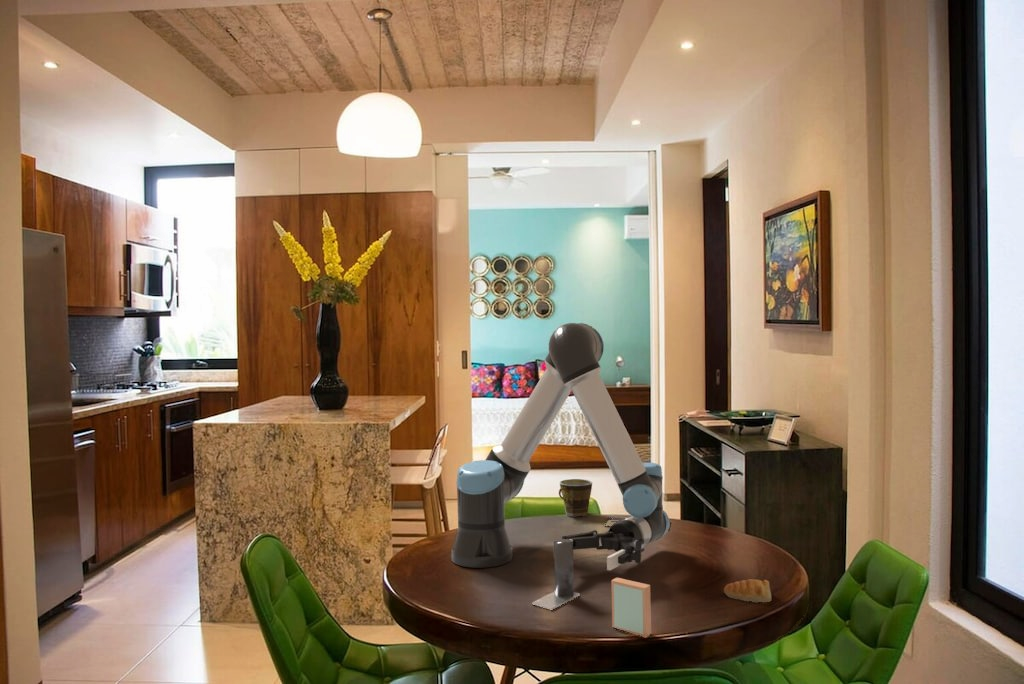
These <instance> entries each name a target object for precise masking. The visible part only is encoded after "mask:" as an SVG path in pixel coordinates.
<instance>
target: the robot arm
mask: <svg viewBox="0 0 1024 684" xmlns="http://www.w3.org/2000/svg"><path fill="white" fill-rule="evenodd" d="M604 345H605V344H604V340H603V336H602V335H601V334H600V332H599V331H598V330H597V329H596V328H595V327H593V325H590V324H587V323H584V322H583V323H582V322H581V323H579V322H578V323H577V322H569V323H564V324H562V325H560V326H559V327H557V328H556V329H555V330H554V331H553V332H552V334H551V336H550V338H549V340H548V354H547V356H546V357H545V359H544V365H545V368H546V369H545V370H544V372H543V373H542V376H541V377H540V378H539V379H538V380H539V381H538V382H537V384H536V385H535V387H534V388H533V390H532V392H531V394H530V395H529V396H528V398H527V400H526V402H525V404H524V406H523V407H522V409H521V410H520V412H519V414H518V415H517V417H516V419H515V420H514V423H513V424H512V426H511V427H510V429H509V431H508V433H507V434H506V436H505V437H504V438H503V441H502V442H501V444H496V445H493V447H492V448H491V450H490V451H489V453H488V455H487V457H486V458H485V459H484V460H483V459H480V460H474V461H472V462H471V461H469V462H467V463H464V464H463V465H461V466H460V467H459V468H458V469H457V473H456V475H457V477H456V481H455V482H456V489H457V490H456V493H457V496H456V498H457V502H456V503H457V531H456V535H455V538H454V541H453V542H454V543H453V545H452V546H453V547H452V549H451V561H452V562H453V564H455V565H458V566H461V567H466V568H472V569H473V568H475V569H477V568H479V569H482V568H493V567H499V566H502V565H506V564H508V563H509V562H511V561H512V559H513V547H512V545H511V544H510V540H509V539H510V538H509V536H508V532H507V530H506V523H505V521H506V518H505V504H507V503H508V502H510V501H511V500H514V499H515V497H517V495H519V493H521V490H522V489H523V486H524V483H525V479H526V478H527V476H528V475H529V473H530V471H531V465H530V464H531V463H530V460H531V458H532V457H533V455H534V453H535V452H536V450H537V448H538V447H539V445H540V444H541V442H542V440H543V438H544V437H545V435H546V433H547V432H548V430H549V429H550V427H551V425H552V423H553V422H554V420H555V419H556V417H557V415H559V412H560V410H561V408H562V407H563V405H564V404H565V402H566V401H567V399H568V397H569V396H570V394H571V392H572V394H573V396H574V397H575V399H576V402H577V405H578V406H579V408H580V410H581V412H582V414H583V416H584V418H585V420H586V423H587V424H588V427H589V429H590V430H591V433H592V435H593V437H594V439H595V441H596V443H597V445H598V447H599V449H600V451H601V453H602V455H603V458H604V460H605V461H606V463H607V466H608V467H609V470H610V472H611V474H612V476H613V478H614V481H615V482H616V484H617V487H618V489H619V491H620V493H621V495H622V505H623V507H624V510H625V511H626V512H627V513H628V514H629V515H630V516H629V517H627V518H626V517H625V518H626V519H624V520H622V521H620V522H617V523H615V524H613V525H612V526H611V527H609V530H608V531H605V532H602V533H600V532H599V533H598V530H596V529H594V530H591V531H588V532H581V533H575V534H569V535H568V534H567V535H563V536H561V539H569V540H572V541H573V551H574V550H575V551H576V550H585V549H586V550H587V549H596V550H597V551H598V550H599V551H600V550H601V551H602V550H607V551H612V550H613V551H615V552H614V553H612V554H610V555H608V556H607V557H606V571H612V570H614V569H616V568H618V567H619V566H621V565H624V564H627V563H631V562H633V561H634V562H635V563H637V564H640V563H641V562H642V553H643V552H644V551H645V546H646V545H648V544H651V543H652V542H654V541H658V540H659V539H661V538H662V537H663V536H664V535H666V534H667V533H668V531H669V530H670V527H671V526H670V524H671V519H670V518H669V516H668V514H667V512H666V511H665V510H664V508H663V469H662V466H661V465H660V464H659V463H655V462H643V461H642V460H641V457H640V455H639V453H638V451H637V449H636V447H635V445H634V443H633V441H632V439H631V436H630V434H629V432H628V431H627V428H626V427H625V425H624V422H623V420H622V418H621V416H620V414H619V412H618V410H617V408H616V406H615V404H614V402H613V400H612V397H611V396H610V394H609V391H608V389H607V388H606V386H605V383H604V380H603V379H602V378H601V375H600V372H601V370H602V368H601V365H600V360H601V359H602V357H603V355H604V351H605V349H604V348H605V346H604ZM600 543H601V545H600Z"/></svg>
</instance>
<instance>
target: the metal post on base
mask: <svg viewBox="0 0 1024 684" xmlns="http://www.w3.org/2000/svg"><path fill="white" fill-rule="evenodd" d="M553 559H554V560H553V561H554V562H553V565H554V570H553V571H554V573H553V574H554V591H552V592H550V593H548V594H546V595H543V596H542V597H540V598H538V599H536V600H533V601H532V602H531V605H532V604H533V605H537V606H540V607H543V608H547V609H550V610H553V609H555V608H557V607H559V606H560V607H562V606H563V605H562V604H564V605H566V604H568V603H569V602H568V601H570V602H571V600H572V601H573V600H575V599H577V598H579V597H580V593H579V592H575V591H574V589H575V588H574V585H575V583H574V579H575V577H574V550H573V541H572V540H569V539H562V538H559V539H555V540H554V541H553ZM578 596H579V597H578ZM576 597H577V598H576ZM574 598H575V599H574ZM567 602H568V603H567ZM565 603H566V604H565ZM561 605H562V606H561ZM560 607H559V608H560ZM543 608H542V609H543ZM557 609H558V608H557ZM550 610H549V611H550ZM555 610H556V609H555ZM553 611H554V610H553Z"/></svg>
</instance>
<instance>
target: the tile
mask: <svg viewBox="0 0 1024 684" xmlns="http://www.w3.org/2000/svg"><path fill="white" fill-rule="evenodd" d="M610 584H611V620H612V623H611V627H614V628H617V629H620V630H624V631H627V632H630V633H633V634H632V635H634V634H636V635H635V636H638V635H640V636H639V637H641V636H642V638H645V639H647V638H648V637H650V636H651V635H652V608H651V606H652V605H651V604H652V602H651V584H648V583H643V582H639V581H635V580H634V581H633V580H629V579H625V578H621V577H615V578H613V579H612V580H611V582H610ZM620 630H619V631H620ZM627 632H626V633H627ZM630 633H629V634H630ZM650 634H651V635H650Z"/></svg>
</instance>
